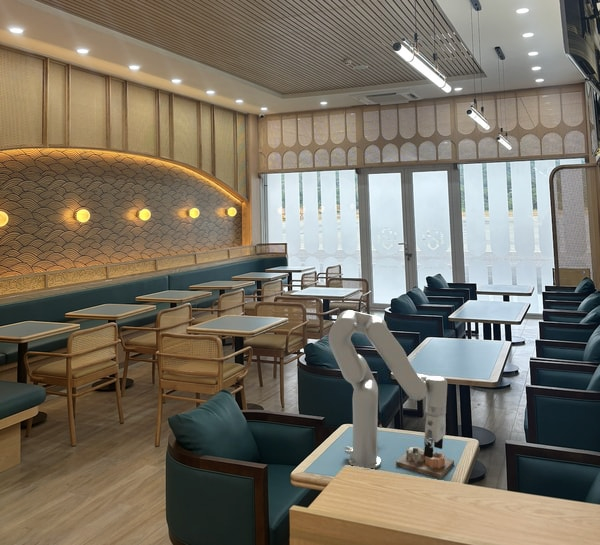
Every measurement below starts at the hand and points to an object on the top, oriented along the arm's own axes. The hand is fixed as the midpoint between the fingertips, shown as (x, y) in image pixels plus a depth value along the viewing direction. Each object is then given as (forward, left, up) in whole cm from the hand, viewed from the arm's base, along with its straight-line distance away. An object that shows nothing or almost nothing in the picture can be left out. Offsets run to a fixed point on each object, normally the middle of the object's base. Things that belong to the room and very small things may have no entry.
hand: (433, 452), depth 201 cm
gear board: (-3, 0, -6) cm, 7 cm away
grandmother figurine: (-31, +10, -6) cm, 34 cm away
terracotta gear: (+1, 0, -5) cm, 5 cm away
